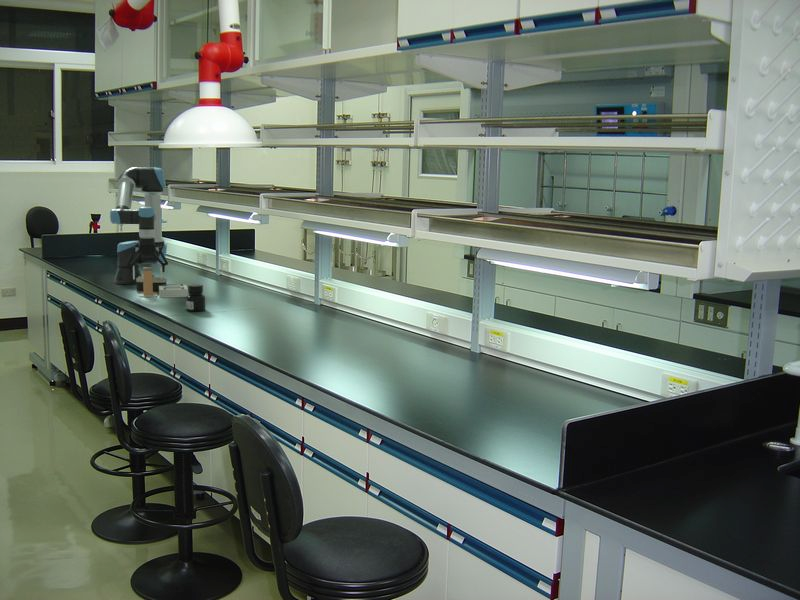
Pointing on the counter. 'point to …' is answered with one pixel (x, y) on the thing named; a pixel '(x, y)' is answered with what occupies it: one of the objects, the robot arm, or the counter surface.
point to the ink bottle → (195, 298)
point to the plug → (147, 281)
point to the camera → (156, 283)
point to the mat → (148, 295)
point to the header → (173, 290)
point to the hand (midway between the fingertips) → (147, 278)
